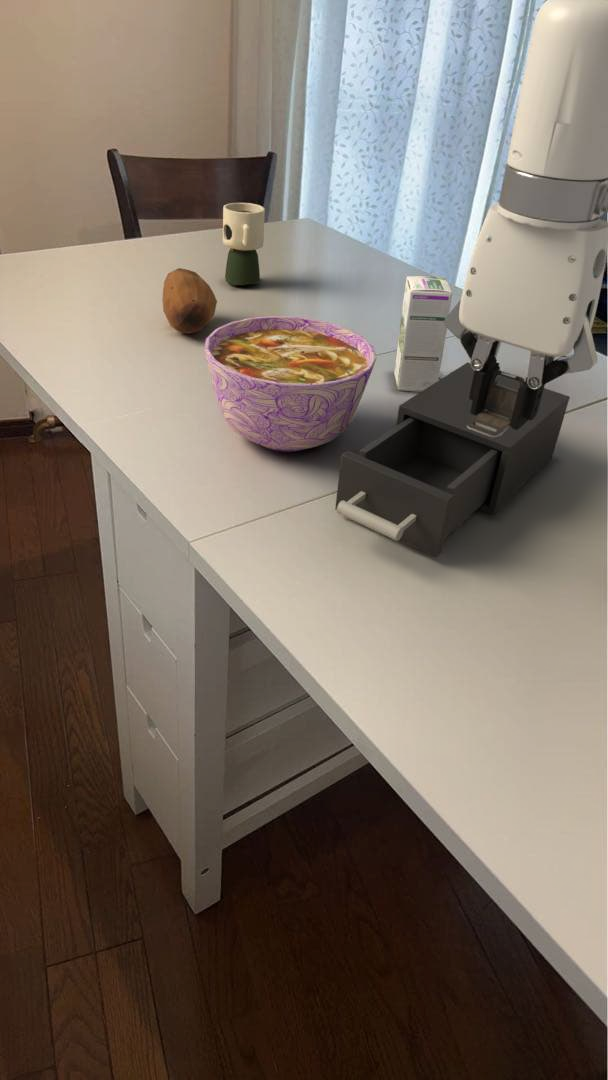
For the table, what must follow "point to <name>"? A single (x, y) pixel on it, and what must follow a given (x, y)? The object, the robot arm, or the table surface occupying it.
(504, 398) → the strap clip
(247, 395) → the bowl of food
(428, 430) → the open drawer with handle
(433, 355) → the syrup box
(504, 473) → the small drawer cabinet
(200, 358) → the table surface
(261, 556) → the table surface
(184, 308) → the potato
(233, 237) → the character mug
